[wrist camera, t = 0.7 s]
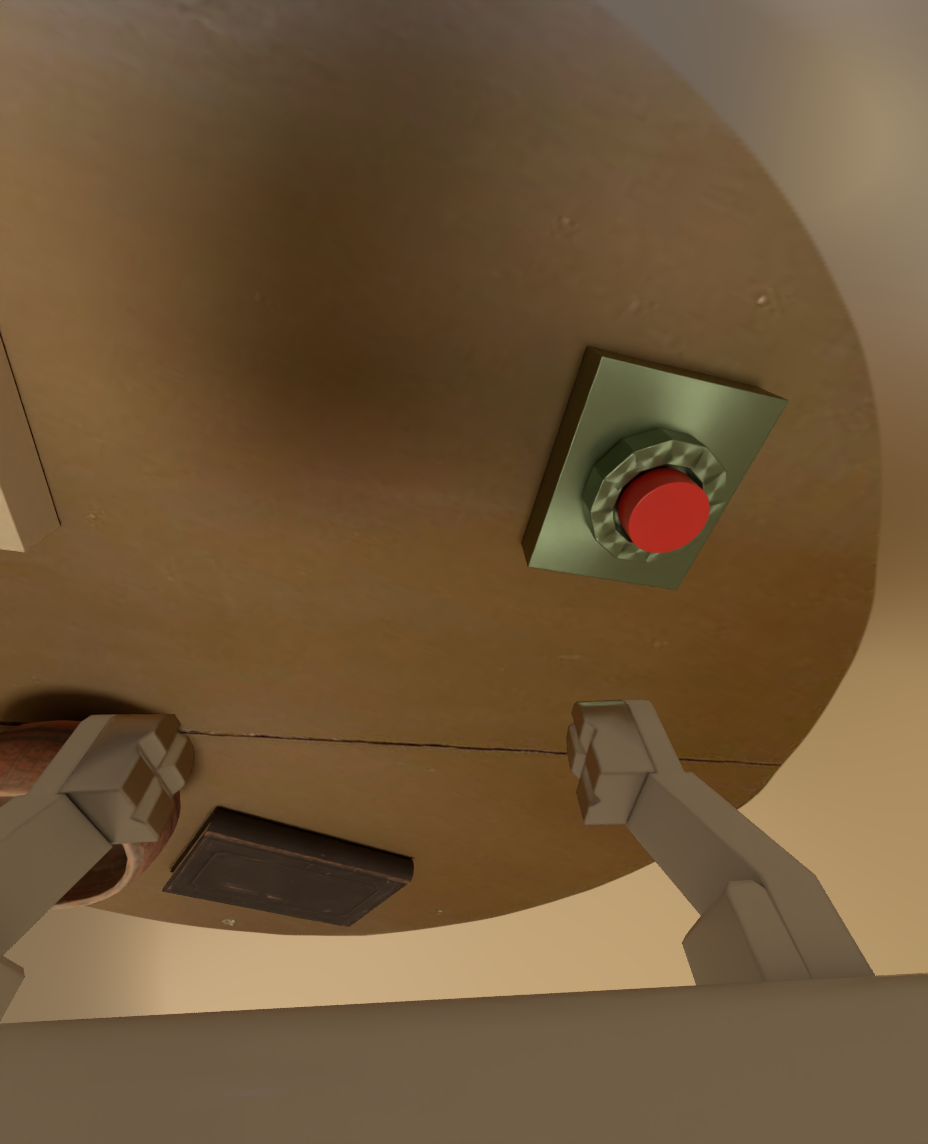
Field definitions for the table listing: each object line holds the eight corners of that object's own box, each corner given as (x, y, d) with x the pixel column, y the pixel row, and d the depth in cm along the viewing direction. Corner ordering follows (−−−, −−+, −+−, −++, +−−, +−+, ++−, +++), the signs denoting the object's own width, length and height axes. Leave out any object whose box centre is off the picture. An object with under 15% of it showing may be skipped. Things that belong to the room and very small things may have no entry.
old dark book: (351, 906, 62) (348, 927, 60) (171, 868, 53) (161, 891, 51) (414, 858, 54) (413, 879, 52) (217, 805, 46) (208, 829, 44)
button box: (586, 346, 24) (614, 363, 20) (758, 387, 25) (813, 410, 21) (521, 543, 30) (532, 584, 26) (660, 566, 32) (689, 608, 28)
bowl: (202, 707, 38) (137, 834, 30) (202, 806, 46) (151, 926, 38) (-22, 672, 34) (-165, 804, 26) (22, 786, 43) (-77, 912, 35)
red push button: (636, 460, 23) (649, 475, 21) (708, 475, 23) (726, 490, 22) (605, 530, 25) (615, 546, 24) (672, 541, 26) (686, 558, 24)
